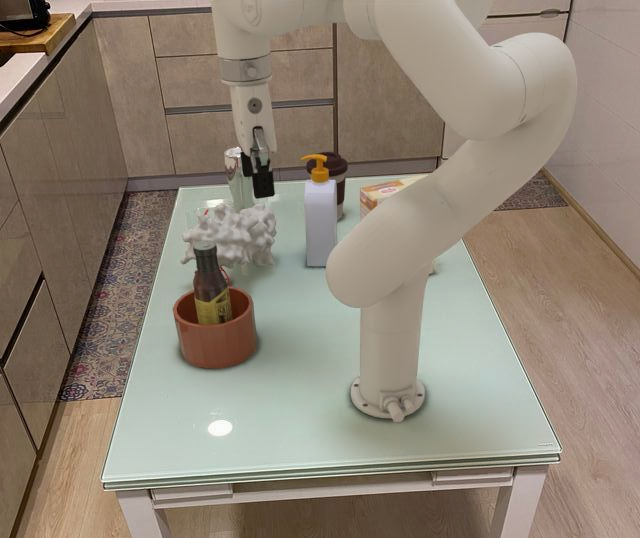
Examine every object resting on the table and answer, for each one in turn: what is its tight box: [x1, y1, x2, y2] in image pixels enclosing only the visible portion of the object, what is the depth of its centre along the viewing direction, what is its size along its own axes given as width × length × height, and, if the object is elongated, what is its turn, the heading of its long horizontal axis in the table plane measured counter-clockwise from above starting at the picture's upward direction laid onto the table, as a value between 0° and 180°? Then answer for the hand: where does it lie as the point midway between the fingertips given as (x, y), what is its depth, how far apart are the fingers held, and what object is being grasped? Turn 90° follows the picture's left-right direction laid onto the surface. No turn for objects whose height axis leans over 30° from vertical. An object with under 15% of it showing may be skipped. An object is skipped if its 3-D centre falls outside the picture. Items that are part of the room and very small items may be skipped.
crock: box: [172, 285, 258, 370], centre depth 125 cm, size 14×14×9 cm
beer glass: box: [223, 146, 256, 214], centre depth 169 cm, size 7×7×15 cm
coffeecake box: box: [359, 174, 435, 275], centre depth 140 cm, size 15×7×20 cm, turn 111°
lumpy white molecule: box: [180, 202, 278, 286], centre depth 142 cm, size 20×18×25 cm
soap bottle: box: [300, 153, 338, 267], centre depth 145 cm, size 9×7×23 cm
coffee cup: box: [306, 151, 349, 221], centre depth 165 cm, size 10×10×15 cm
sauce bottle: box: [192, 240, 233, 325], centre depth 120 cm, size 7×6×20 cm
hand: (258, 185), depth 108 cm, fingers open, 9 cm apart
